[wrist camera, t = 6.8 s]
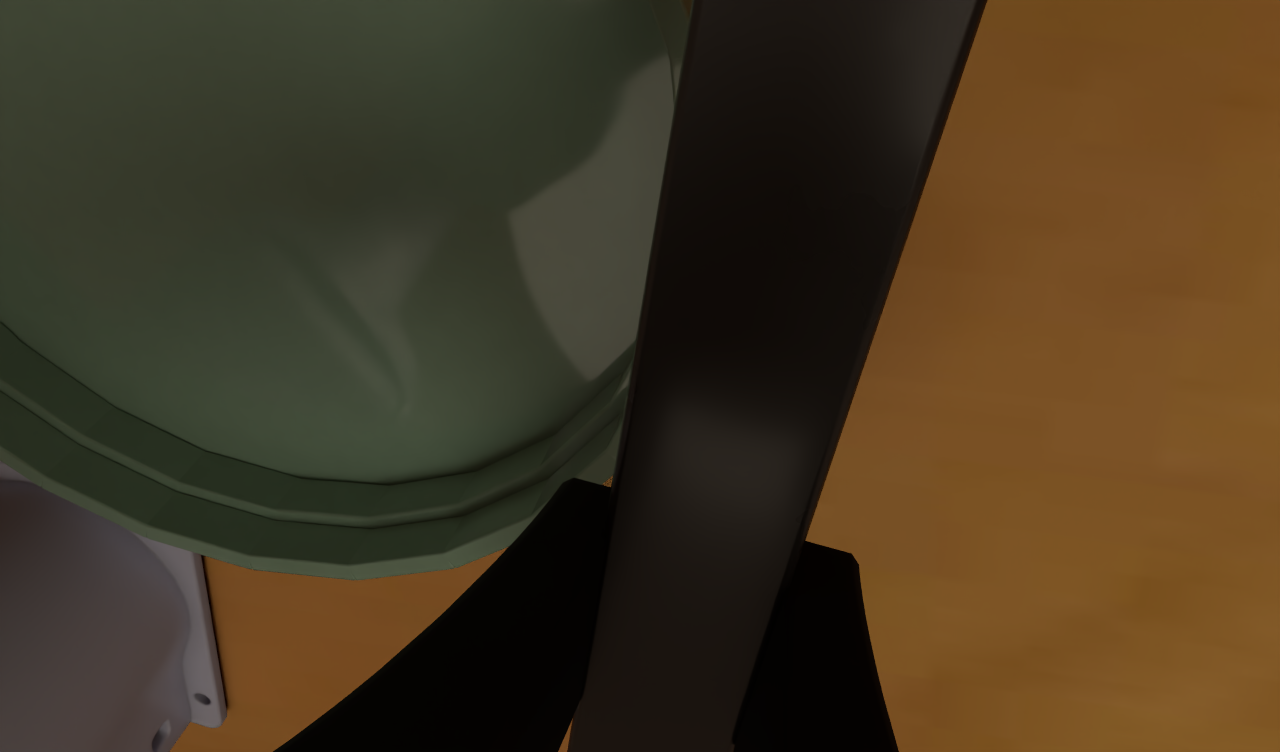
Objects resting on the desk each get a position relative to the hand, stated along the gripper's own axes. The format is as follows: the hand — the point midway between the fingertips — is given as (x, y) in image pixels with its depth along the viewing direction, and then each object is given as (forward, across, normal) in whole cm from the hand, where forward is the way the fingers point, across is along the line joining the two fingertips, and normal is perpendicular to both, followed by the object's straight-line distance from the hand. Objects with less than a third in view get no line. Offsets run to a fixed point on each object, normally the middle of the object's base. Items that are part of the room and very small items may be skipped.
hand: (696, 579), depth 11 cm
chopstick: (+1, 0, 0) cm, 1 cm away
